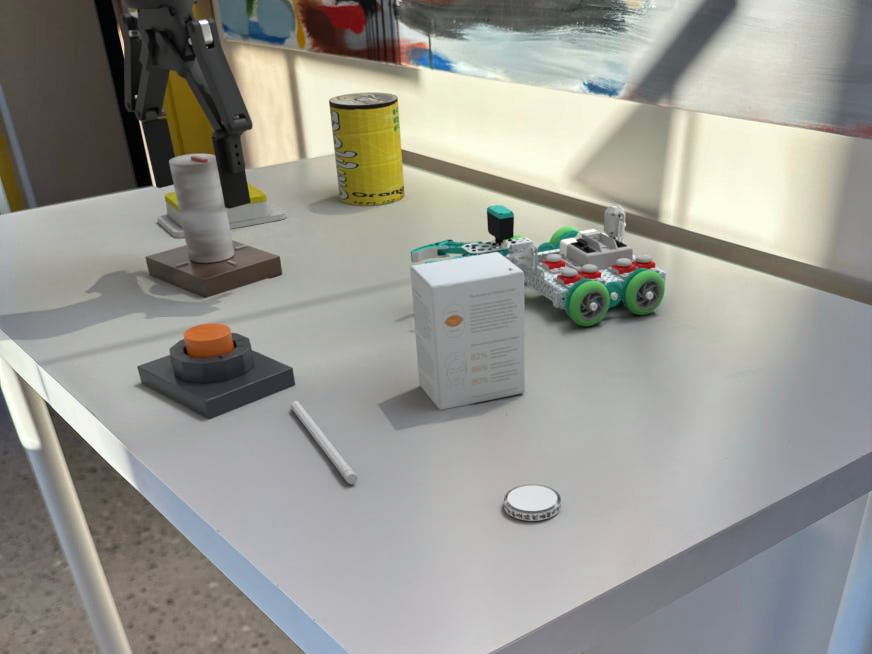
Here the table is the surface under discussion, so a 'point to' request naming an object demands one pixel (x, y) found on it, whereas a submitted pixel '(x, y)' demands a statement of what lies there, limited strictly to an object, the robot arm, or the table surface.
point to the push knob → (208, 340)
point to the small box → (469, 329)
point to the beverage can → (367, 148)
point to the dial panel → (214, 269)
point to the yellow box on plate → (237, 216)
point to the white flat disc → (532, 502)
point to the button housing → (216, 378)
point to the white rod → (324, 443)
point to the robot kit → (570, 265)
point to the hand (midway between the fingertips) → (202, 195)
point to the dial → (202, 207)
